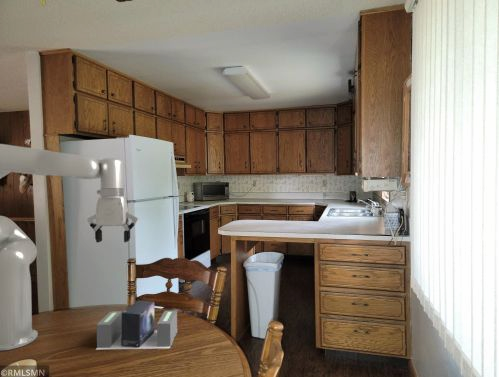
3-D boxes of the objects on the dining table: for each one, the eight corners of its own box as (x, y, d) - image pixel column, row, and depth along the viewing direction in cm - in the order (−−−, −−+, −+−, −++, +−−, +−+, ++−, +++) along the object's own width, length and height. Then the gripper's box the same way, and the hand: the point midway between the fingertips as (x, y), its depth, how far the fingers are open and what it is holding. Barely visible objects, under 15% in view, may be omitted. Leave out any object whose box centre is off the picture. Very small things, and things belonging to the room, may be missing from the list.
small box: (140, 348, 97) (140, 313, 97) (120, 346, 98) (119, 312, 98) (156, 332, 107) (155, 300, 107) (137, 330, 108) (137, 299, 108)
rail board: (95, 354, 96) (95, 349, 96) (111, 335, 108) (111, 331, 108) (169, 353, 97) (169, 348, 97) (177, 334, 109) (177, 329, 109)
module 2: (157, 346, 98) (156, 323, 98) (165, 331, 108) (164, 310, 108) (170, 346, 98) (170, 323, 98) (177, 331, 108) (176, 310, 108)
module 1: (97, 347, 97) (96, 324, 97) (110, 332, 107) (110, 311, 107) (110, 347, 97) (110, 324, 97) (122, 332, 107) (122, 310, 107)
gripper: (82, 194, 110) (83, 243, 111) (133, 193, 111) (133, 243, 111) (92, 193, 118) (93, 240, 118) (140, 193, 118) (140, 239, 119)
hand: (112, 241), depth 115 cm, fingers open, 9 cm apart
